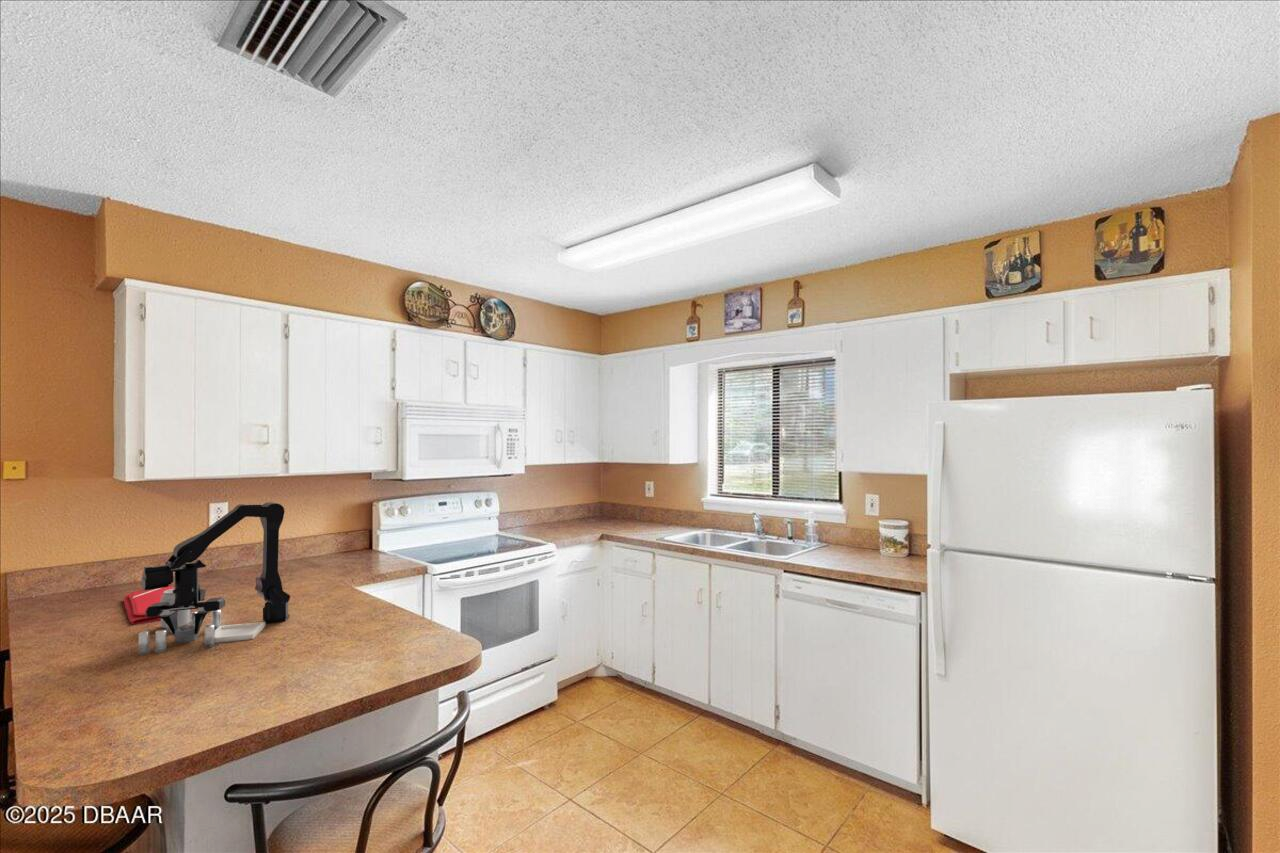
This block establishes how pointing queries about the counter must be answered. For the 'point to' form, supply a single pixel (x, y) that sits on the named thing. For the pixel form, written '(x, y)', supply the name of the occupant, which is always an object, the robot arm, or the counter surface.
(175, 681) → the counter surface
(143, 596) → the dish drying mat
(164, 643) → the spacer posts
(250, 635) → the tray
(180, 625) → the can
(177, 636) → the grey faceted icosahedron
